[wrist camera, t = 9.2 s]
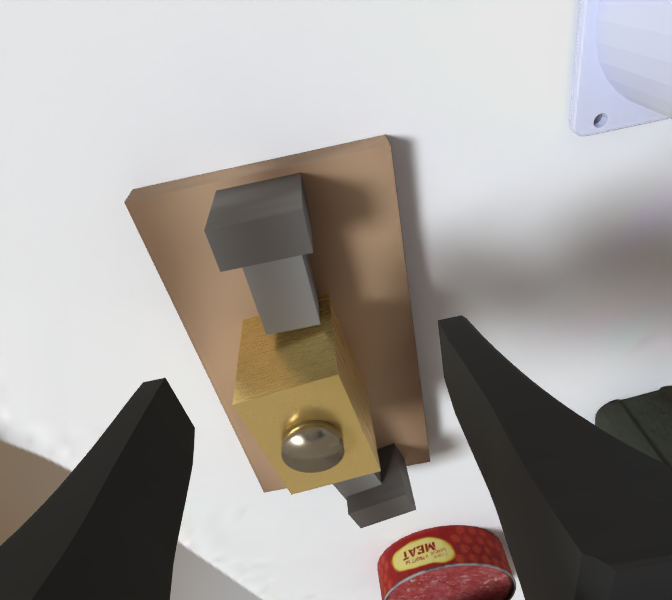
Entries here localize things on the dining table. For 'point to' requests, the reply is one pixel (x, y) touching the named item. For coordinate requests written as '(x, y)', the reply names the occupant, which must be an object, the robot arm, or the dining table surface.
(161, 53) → the dining table surface
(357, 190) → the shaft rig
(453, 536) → the canned food
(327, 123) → the dining table surface
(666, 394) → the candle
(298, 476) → the block
